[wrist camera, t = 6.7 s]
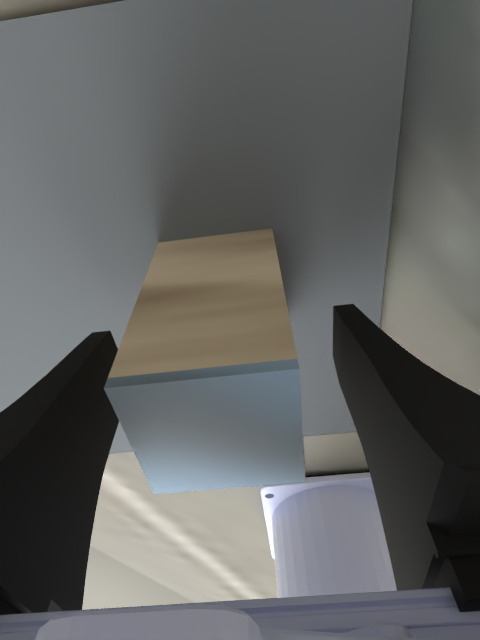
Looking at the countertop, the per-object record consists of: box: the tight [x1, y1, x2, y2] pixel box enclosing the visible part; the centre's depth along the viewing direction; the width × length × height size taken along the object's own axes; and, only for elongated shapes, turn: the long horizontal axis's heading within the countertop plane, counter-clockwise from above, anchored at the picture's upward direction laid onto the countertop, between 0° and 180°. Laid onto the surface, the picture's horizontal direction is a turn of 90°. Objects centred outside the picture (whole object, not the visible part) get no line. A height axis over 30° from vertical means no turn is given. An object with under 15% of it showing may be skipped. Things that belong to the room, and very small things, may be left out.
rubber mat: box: [0, 0, 413, 454], centre depth 15 cm, size 18×22×1 cm
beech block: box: [104, 228, 305, 494], centre depth 12 cm, size 4×4×7 cm
